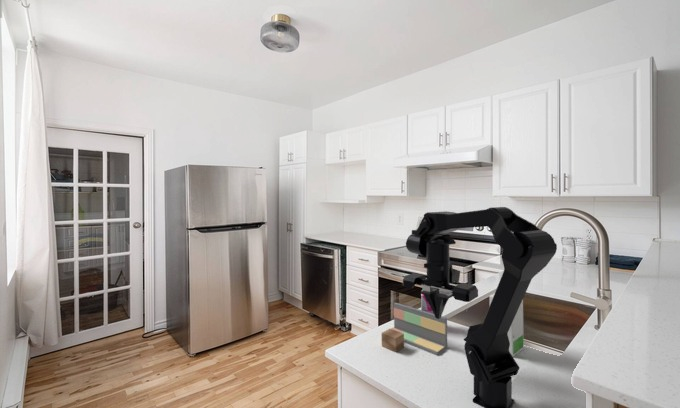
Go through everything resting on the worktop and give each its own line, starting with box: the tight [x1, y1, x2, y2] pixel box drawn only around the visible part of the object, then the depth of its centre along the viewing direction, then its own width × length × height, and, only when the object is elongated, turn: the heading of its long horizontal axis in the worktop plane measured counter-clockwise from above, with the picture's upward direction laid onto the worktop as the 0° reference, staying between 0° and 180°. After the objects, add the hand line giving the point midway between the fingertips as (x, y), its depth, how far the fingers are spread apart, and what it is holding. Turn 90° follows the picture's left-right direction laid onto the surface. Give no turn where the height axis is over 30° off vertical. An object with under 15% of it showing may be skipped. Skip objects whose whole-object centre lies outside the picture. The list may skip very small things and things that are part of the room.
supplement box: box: [420, 293, 434, 314], centre depth 103 cm, size 6×6×12 cm
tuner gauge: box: [390, 302, 448, 356], centre depth 93 cm, size 18×6×9 cm, turn 44°
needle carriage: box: [381, 328, 405, 353], centre depth 91 cm, size 5×6×4 cm
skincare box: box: [489, 292, 525, 358], centre depth 88 cm, size 8×7×16 cm
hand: (438, 318), depth 81 cm, fingers closed
